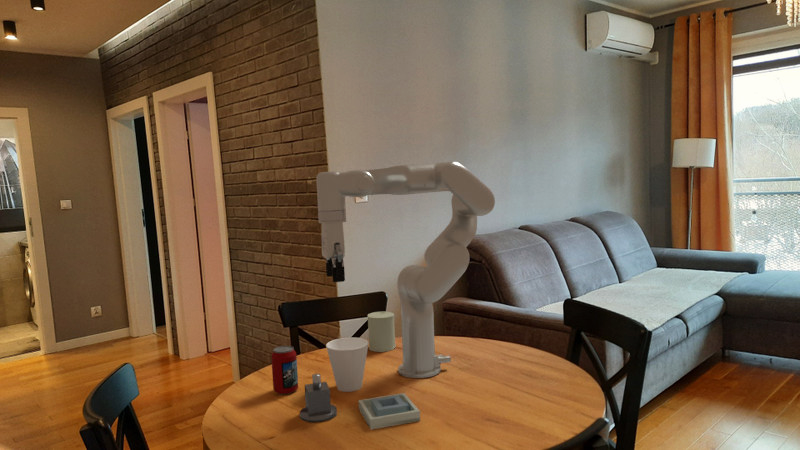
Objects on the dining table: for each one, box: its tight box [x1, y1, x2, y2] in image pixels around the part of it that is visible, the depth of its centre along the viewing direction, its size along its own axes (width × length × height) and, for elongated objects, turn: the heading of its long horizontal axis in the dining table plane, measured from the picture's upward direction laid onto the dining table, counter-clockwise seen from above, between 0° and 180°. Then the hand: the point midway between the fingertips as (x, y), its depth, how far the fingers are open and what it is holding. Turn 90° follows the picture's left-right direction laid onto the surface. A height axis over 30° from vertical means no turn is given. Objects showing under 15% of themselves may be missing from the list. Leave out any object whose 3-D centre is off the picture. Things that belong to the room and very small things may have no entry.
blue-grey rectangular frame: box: [371, 394, 410, 417], centre depth 134 cm, size 7×9×2 cm
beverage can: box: [271, 345, 299, 396], centre depth 152 cm, size 7×7×12 cm
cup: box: [325, 337, 369, 393], centre depth 153 cm, size 12×12×12 cm
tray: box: [358, 392, 421, 430], centre depth 134 cm, size 12×12×2 cm
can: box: [367, 311, 397, 353], centre depth 188 cm, size 9×9×12 cm
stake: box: [299, 373, 338, 424], centre depth 136 cm, size 9×9×10 cm
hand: (335, 278), depth 153 cm, fingers open, 9 cm apart
